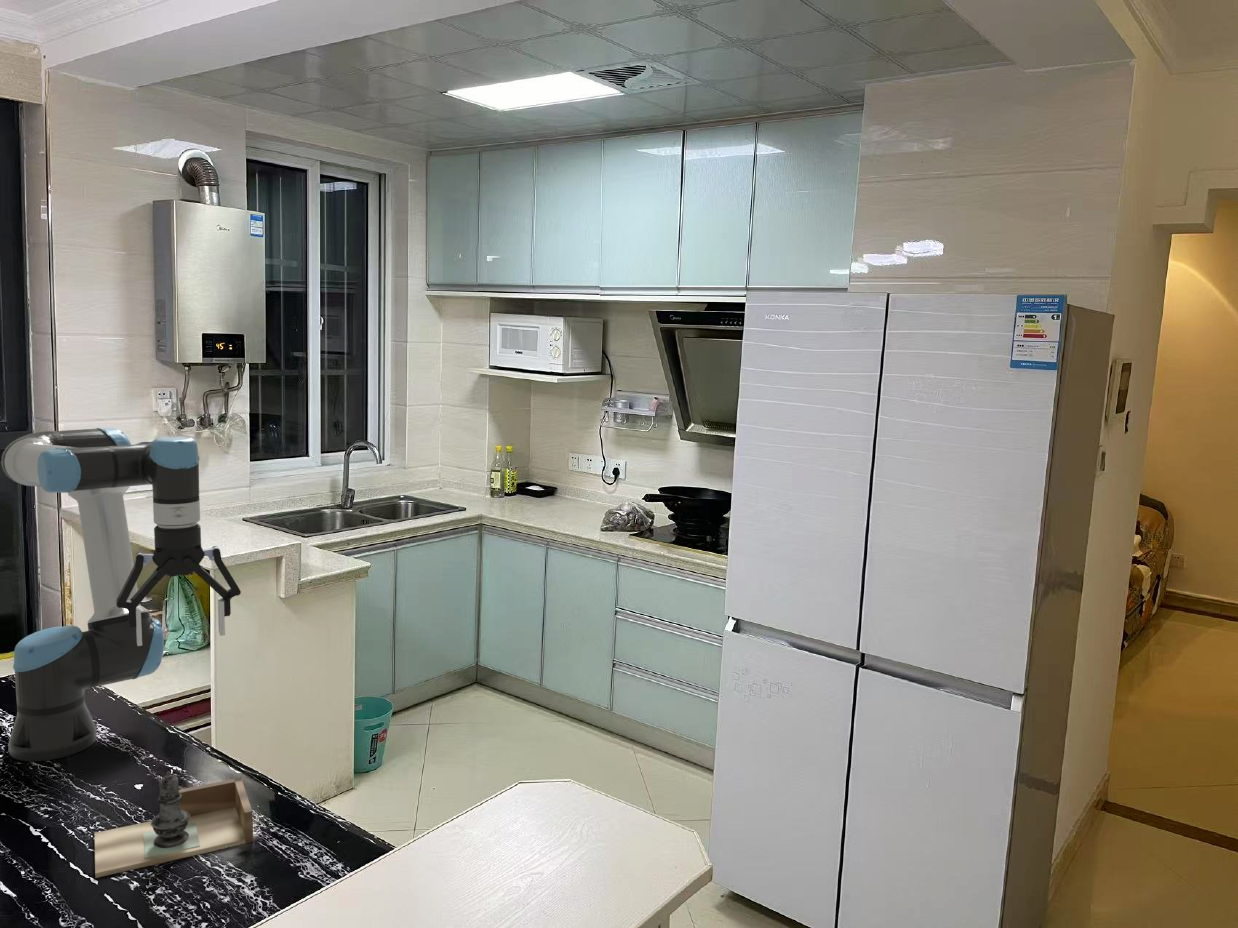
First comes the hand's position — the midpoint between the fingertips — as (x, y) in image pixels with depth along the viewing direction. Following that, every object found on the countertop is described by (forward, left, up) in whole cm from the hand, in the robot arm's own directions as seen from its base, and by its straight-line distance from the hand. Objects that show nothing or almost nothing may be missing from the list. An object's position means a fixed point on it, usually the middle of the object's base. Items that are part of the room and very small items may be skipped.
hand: (181, 638), depth 168 cm
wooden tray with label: (+18, -4, -29) cm, 34 cm away
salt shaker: (+20, -4, -28) cm, 35 cm away
